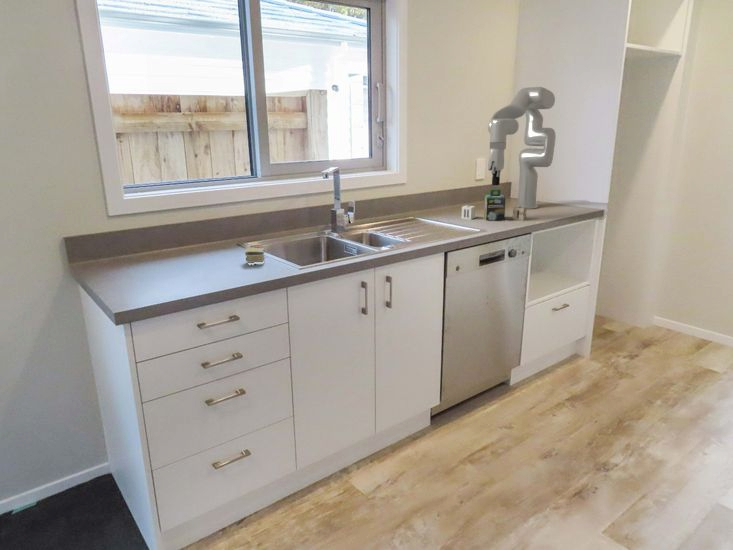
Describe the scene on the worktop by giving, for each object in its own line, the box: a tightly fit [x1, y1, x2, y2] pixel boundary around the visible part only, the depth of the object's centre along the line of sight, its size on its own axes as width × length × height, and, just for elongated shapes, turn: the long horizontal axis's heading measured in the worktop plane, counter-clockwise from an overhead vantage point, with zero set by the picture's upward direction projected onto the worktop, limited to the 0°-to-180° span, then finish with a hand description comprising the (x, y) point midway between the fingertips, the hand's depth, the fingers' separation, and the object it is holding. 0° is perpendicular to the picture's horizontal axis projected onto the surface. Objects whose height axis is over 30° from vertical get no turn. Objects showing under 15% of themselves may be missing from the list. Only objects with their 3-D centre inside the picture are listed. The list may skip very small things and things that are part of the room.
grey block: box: [461, 205, 476, 221], centre depth 258 cm, size 5×5×6 cm
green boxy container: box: [483, 188, 507, 222], centre depth 254 cm, size 9×9×15 cm
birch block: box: [512, 206, 528, 222], centre depth 254 cm, size 5×5×6 cm
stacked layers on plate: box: [244, 247, 266, 264], centre depth 184 cm, size 10×9×6 cm
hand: (495, 185), depth 251 cm, fingers closed
